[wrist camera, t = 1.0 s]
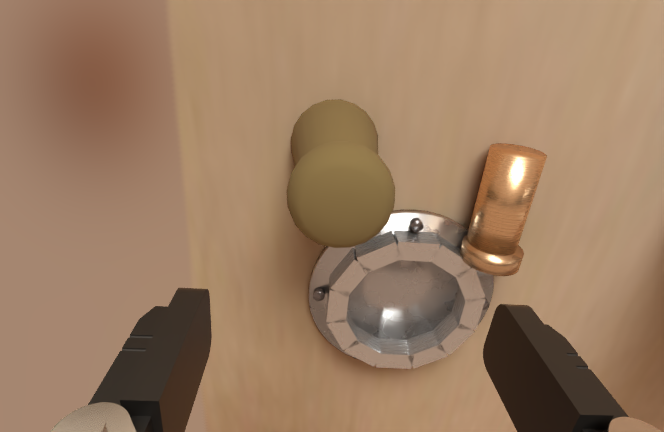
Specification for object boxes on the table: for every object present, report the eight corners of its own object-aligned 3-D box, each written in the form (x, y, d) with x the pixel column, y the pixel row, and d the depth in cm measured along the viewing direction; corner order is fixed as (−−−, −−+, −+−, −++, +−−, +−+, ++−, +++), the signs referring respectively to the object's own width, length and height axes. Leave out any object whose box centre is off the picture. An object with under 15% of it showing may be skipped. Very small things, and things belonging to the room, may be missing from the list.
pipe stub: (477, 141, 28) (502, 159, 24) (535, 146, 28) (569, 164, 24) (452, 244, 31) (470, 274, 28) (504, 247, 32) (529, 277, 28)
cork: (335, 201, 30) (343, 289, 20) (272, 146, 28) (246, 213, 18) (396, 142, 28) (438, 207, 18) (333, 79, 26) (341, 113, 16)
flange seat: (512, 216, 31) (527, 231, 28) (467, 363, 37) (476, 384, 35) (315, 202, 30) (315, 217, 27) (303, 356, 36) (302, 377, 34)
